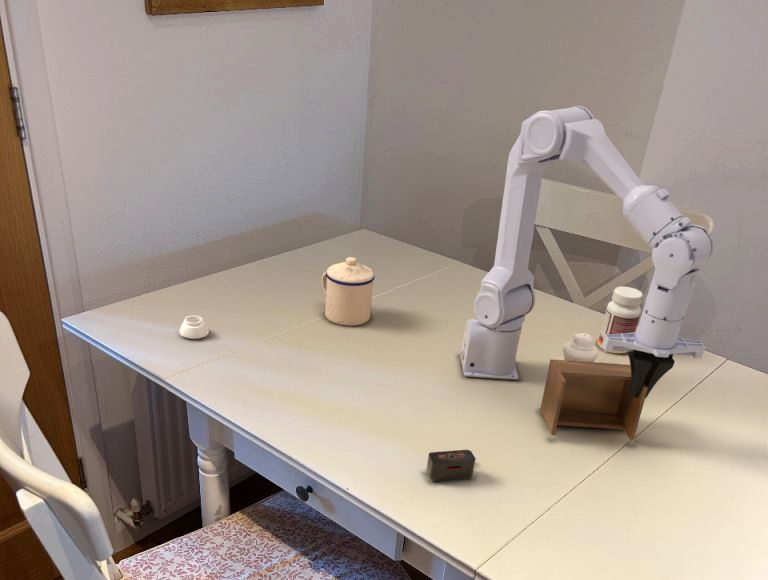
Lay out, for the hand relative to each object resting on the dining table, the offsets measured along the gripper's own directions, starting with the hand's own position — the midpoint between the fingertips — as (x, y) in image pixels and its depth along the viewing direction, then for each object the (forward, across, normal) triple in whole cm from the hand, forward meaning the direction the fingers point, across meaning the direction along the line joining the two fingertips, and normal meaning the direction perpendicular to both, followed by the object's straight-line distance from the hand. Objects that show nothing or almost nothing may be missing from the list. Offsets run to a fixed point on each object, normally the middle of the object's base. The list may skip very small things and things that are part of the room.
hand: (638, 394), depth 119 cm
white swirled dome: (+8, -3, +21) cm, 23 cm away
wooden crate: (+3, -6, +6) cm, 9 cm away
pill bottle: (+8, +6, +31) cm, 33 cm away
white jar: (+8, -72, +24) cm, 76 cm away
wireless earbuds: (+8, -29, -13) cm, 32 cm away
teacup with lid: (+8, -46, +37) cm, 59 cm away
